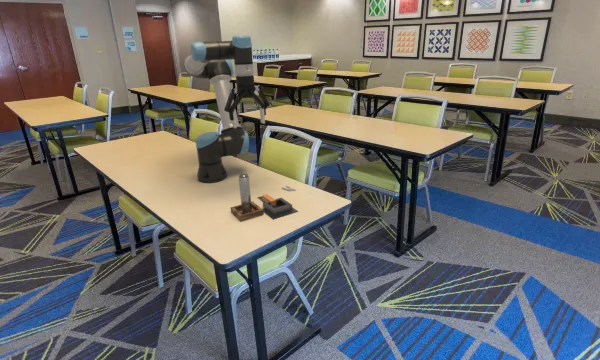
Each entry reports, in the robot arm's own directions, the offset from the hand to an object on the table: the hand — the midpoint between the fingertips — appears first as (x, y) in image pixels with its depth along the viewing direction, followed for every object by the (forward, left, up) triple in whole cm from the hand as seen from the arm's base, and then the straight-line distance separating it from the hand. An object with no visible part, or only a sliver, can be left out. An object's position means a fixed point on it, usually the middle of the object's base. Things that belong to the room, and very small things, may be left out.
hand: (249, 125), depth 156 cm
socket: (+20, -1, -32) cm, 37 cm away
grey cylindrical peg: (+20, -13, -31) cm, 39 cm away
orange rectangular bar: (+17, -1, -32) cm, 36 cm away
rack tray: (+20, -13, -32) cm, 40 cm away
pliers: (+13, +14, -32) cm, 38 cm away
